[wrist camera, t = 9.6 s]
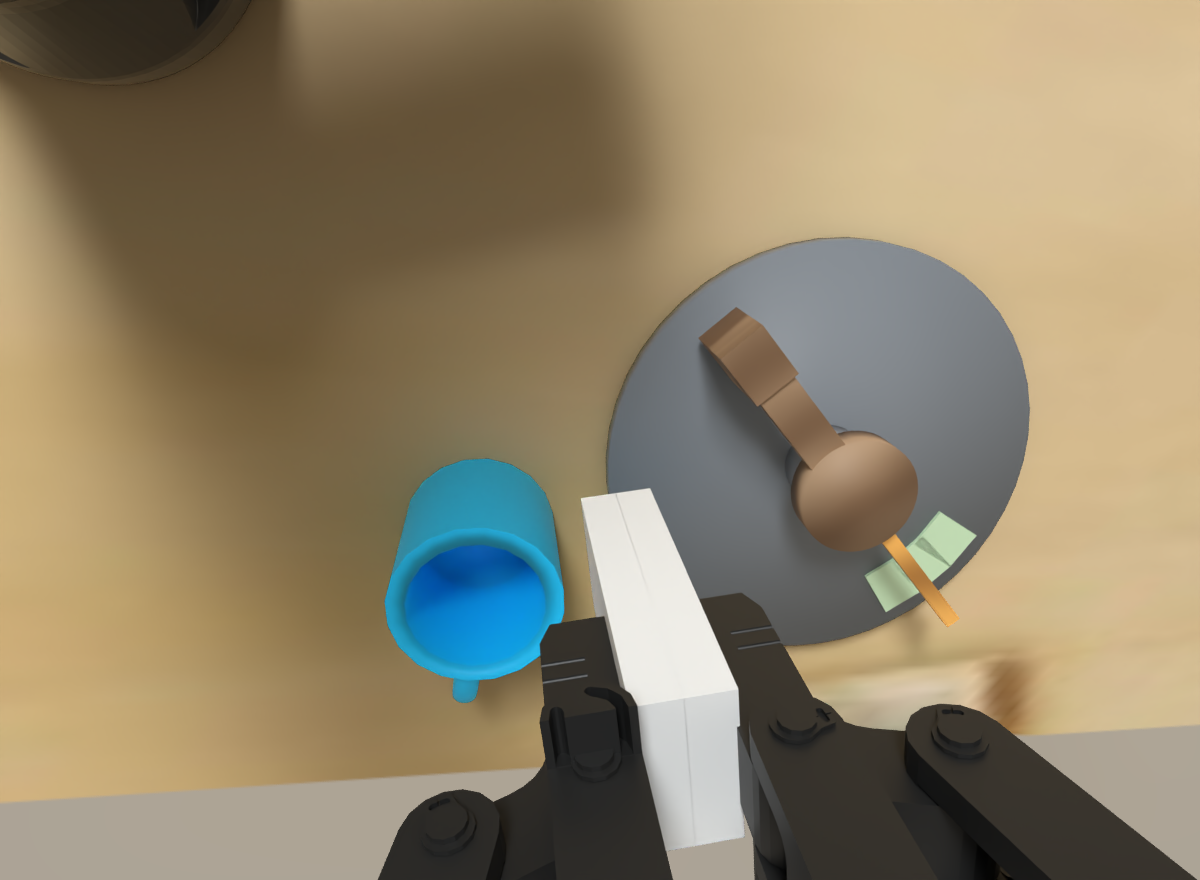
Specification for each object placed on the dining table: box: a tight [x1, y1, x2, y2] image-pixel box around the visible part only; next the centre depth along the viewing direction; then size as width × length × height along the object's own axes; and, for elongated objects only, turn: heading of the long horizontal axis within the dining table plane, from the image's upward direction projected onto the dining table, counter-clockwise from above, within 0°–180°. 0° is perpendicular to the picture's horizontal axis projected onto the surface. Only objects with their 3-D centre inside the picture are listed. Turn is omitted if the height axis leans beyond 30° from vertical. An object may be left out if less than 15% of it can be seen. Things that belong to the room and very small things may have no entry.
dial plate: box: [606, 237, 1030, 645], centre depth 42 cm, size 24×24×4 cm
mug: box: [385, 459, 564, 703], centre depth 40 cm, size 12×8×8 cm
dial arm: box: [699, 307, 959, 627], centre depth 40 cm, size 22×6×4 cm, turn 39°
